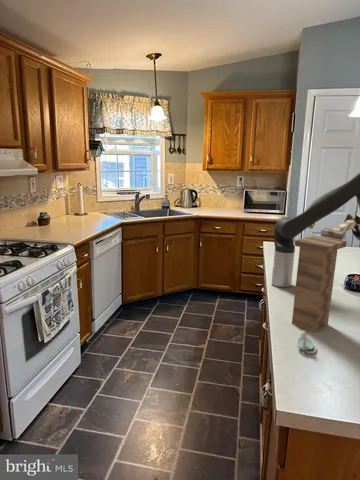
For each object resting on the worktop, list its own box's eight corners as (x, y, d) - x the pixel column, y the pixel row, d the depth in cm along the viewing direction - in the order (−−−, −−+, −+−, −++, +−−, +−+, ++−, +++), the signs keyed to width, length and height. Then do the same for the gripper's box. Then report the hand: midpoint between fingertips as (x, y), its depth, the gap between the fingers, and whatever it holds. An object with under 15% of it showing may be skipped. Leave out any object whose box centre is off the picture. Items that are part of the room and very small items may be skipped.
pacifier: (316, 346, 115) (297, 341, 117) (319, 329, 113) (300, 325, 115) (316, 357, 108) (296, 352, 110) (319, 339, 107) (298, 334, 109)
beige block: (341, 239, 126) (342, 233, 125) (320, 236, 131) (320, 230, 131) (369, 222, 140) (370, 216, 139) (349, 219, 146) (350, 214, 145)
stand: (316, 335, 122) (327, 246, 115) (286, 322, 131) (295, 240, 123) (335, 323, 131) (346, 241, 124) (306, 312, 139) (314, 235, 132)
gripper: (351, 223, 154) (337, 206, 143) (385, 228, 144) (373, 210, 132) (345, 238, 153) (331, 222, 142) (379, 244, 143) (367, 228, 131)
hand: (352, 216), depth 137 cm, fingers closed on beige block, 2 cm apart
